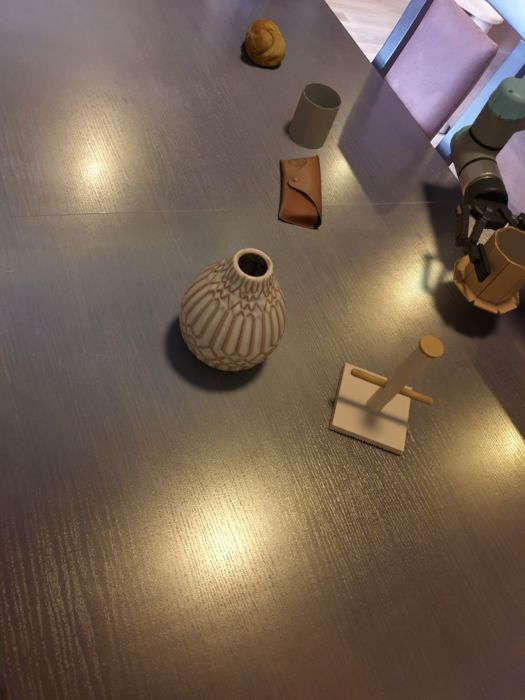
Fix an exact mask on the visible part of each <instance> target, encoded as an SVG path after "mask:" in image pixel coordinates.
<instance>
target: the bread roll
mask: <svg viewBox="0 0 525 700" xmlns="http://www.w3.org/2000/svg"><path fill="white" fill-rule="evenodd" d="M244 44H245V45H244V47H245V51H246V54H247V56H248V57H249V59H250V60H251V61H252V62H254V63H255V64H257V65H259V66H263V67H267V68H268V67H270V68H271V67H275V66H277V65H279V64H280V63H281V62H282V61H283V60H284V59H285V56H286V52H287V45H286V41H285V39H284V36H283V35H282V32H281V30H280V28H279V27H278V25H276V24H275V23H274V21H272V20H269V19H257V20H255V21H254V22H253V23H251V24H250V25H249V27H248V29H247V31H246V34H245V38H244Z"/></svg>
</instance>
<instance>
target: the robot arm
mask: <svg viewBox="0 0 525 700" xmlns="http://www.w3.org/2000/svg"><path fill="white" fill-rule="evenodd" d="M522 131H525V79H523V78H521V77H518V78H517V77H515V76H507V77H505V78H504V79H502V80H501V81H500V82H499V84H497V87H496V88H495V89H494V90H493V91H492V92H491V94H490V95H489V97H488V99H487V101H486V102H485V104H484V105H483V106H482V108H481V110H480V111H479V113H478V115H477V116H476V118H475V119H474V121H473V122H472V124H468V125H464V126H463V127H461V128H460V129H459V130H458V131H455V132H454V133H453V135H452V137H451V139H450V141H449V150H450V158H451V159H450V160H451V162H452V165H453V166H454V170H455V174H456V177H457V180H458V184H459V187H460V191H461V193H462V197H463V199H462V200H461V201H460V202H459V203H458V204H457V206H456V207H455V209H453V210H454V211H453V212H454V215H455V217H456V222H455V232H454V233H455V234H454V235H455V236H454V246H455V247H457V248H462V249H461V252H462V254H463V255H464V256H469V260H470V262H471V264H473V265H474V268H475V272H476V276H477V279H478V282H480V283H483V281H484V280H485V279H486V278H487V277H488V276H489V275H490V274H491V270H490V266H489V263H488V259H487V256H486V252H485V249H484V246H483V245H484V243H481V242H479V241H480V238H481V236H482V234H483V231H484V230H492V231H494V232H495V231H496V230H498V229H502V228H505V227H508V226H510V227H511V226H512V227H514V228H517V229H519V230H522V231H524V232H525V212H520V213H519V214H515V213H513V212H512V210H511V209H510V208H509V194H508V190H507V188H506V185H505V183H504V179H503V176H502V173H501V171H500V168H499V165H498V162H497V156H498V155H499V154H500V153H501V151H502V150H503V149H504V148H505V146H506V145H507V144H508V143H509V141H510V140H511V138H512V137H513V136H514V135H515V134H516V133H518V132H522ZM470 217H471V218H472V219H473V220H474V224H473V226H472V229H471V231H470ZM469 231H470V234H469Z"/></svg>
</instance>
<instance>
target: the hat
mask: <svg viewBox="0 0 525 700" xmlns="http://www.w3.org/2000/svg"><path fill="white" fill-rule="evenodd" d="M507 226H508V225H507ZM507 226H505V227H504V228H502V229H498V230H496V231H494V232H493V233H492V235H491V236H490V237H488V239H487V240H486V242H485V243H483V246H484V249H485V252H486V256H487V259H488V263H489V266H490V270H491V274H490V275H489V276H488V277H487V278H486V279H485V280H484V281H483V283H480V282H478V279H477V276H476V272H475V268H474V265H473V264H471V262H470V260H469V256H468V255H464V256H462V257H459V258H457V259H456V261H454V263H453V276H452V280H453V281H455V282H454V285H455V286H456V287H457V289H458V290H459V291H460V292H461V294H462V296H464V298H465V299H466V300H467V302H468V303H472V302H473V307H476V308H479V309H481V310H483V311H486V312H489V313H491V314H494V315H498V314H499V315H500V316H501V315H503V314H506V313H508V312H511V311H513V310H515V309H517V308H518V306H520V290H521V289H522V288H523V287H524V286H525V232H524V231H522V230H519V229H517V228H514V227H512V226H511V227H510V226H508V227H507Z"/></svg>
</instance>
